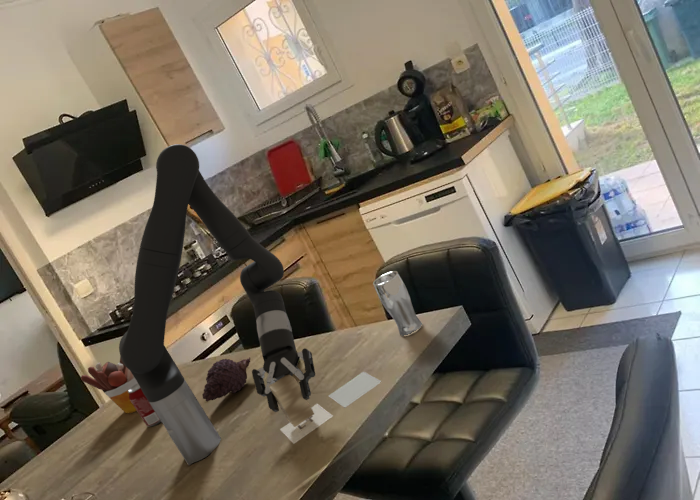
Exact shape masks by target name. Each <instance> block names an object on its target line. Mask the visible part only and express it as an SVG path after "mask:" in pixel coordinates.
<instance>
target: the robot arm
mask: <svg viewBox="0 0 700 500" xmlns="http://www.w3.org/2000/svg"><path fill="white" fill-rule="evenodd" d="M155 169H156V180H155V181H156V182H155V193H154V199H153V202H152V207H151V210H150V213H149V215H148V219H147V222H146V224H145V228H144V230H143V234H142V237H141V241H140V245H139V250H138V256H137V259H136V264H135V265H136V266H135V276H134V291H133V292H134V296H133V297H134V298H133V300H134V301H133V310H132V314H131V317H130V322H129V326H128V329H127V331H126V332H125V333H123V335H122V337H121V339H120V340H119V343H118V351H119V358H120V357H121V360H122V362H123V364H124V365H125V366H126V367H127V368H128V369H129V370H130V371H131V373H132V374H133V376H134V377H135V379H136V381H137V382H138V384H139V386H140V388H141V390H142V392H143V393H144V395H145V397H146V398H147V400H148V401H149V403H150V404H151V406H152V407H153V409H154V411H155V412H156V414H157V415H158V417H159V419H160V420H161V423H162V424H163V427H164V428H165V429H166V432H167V434H168V435H169V438H170V439H171V440H172V442H173V444H174V445H175V447H176V448H177V449H178V451H179V452H180V454H181V456H182V457H183V459H184V460H185V462H186V463H187V465H188V466H190V465H192V464H193V463H196V462H199V461H201V460H203V459H204V458H206V457H207V456H209V455H211V454H212V452H213V451H214V450H215V449H216V448H217V447H218V446H219V444H220V443H221V440H222V438H221V435H220V434H219V433H218V431H217V430H216V428H215V426H214V424H213V423H212V422H211V419H210V418H209V416H208V414H207V413H206V411H205V410H204V408H203V407H202V404H200V402H199V400H198V398H197V397H196V395H195V393H194V392H193V390H192V389H191V387H190V386H189V383H188V382H187V380H186V379H185V377H184V375H183V374H182V372H181V370H180V369H179V367H178V365H177V364H176V362H175V361H174V359H173V358H172V355H171V354H170V352H169V351H168V349H167V347H166V346H165V335H166V334H165V333H166V324H167V317H168V312H169V308H170V304H171V302H172V298H173V294H174V291H175V287H176V282H177V279H178V274H179V270H180V265H181V260H182V255H183V248H184V242H185V234H186V233H185V232H186V221H187V214H188V207H190V208H191V209H192V210H193V211H194V212H195V214H196V215H197V216H198V218H199V220H200V221H201V222H202V223H203V224H204V226H205V227H206V228H207V230H208V231H209V233H210V234H211V236H212V237H213V238H214V239H215V241H216V242H217V243H218V245H219V246H220V247H221V249H222V250H223V251H224V252H225V253H226V254H227V256H228V257H229V258H230V260H232V261H239V260H242V259H243V260H244V259H249V260H251V261H253V262H251V263H249V264H248V265H246V266H244V267H243V268H242V270H241V271H240V275H239V281H240V284H241V286H242V289H243V290H244V291H245V293H246V295H247V297H248V299H249V300H250V303H251V305H252V307H253V312H254V317H255V321H256V322H255V323H256V332H257V336H258V341H259V347H260V346H261V349H260V352H261V355H262V359H263V365H262V367H260V368H259V369H256V368H253V369H252V370H251V374H252V378H253V382H254V386H255V387H254V388H255V389H256V393H257V394H258V395H259V396H261V397H266V401H267V405H268V408H269V409H270V410H271V411H273V412H275V413H277V412H279V411H280V408H279V407H280V406H279V404H278V402H277V400H276V398H275V397H274V395H273V393H272V391H271V390H270V388H269V386H270V385H271V384H273V383H275V382H276V381H278V380H279V379H281V378H282V377H284V376H285V375H291V376H292V377H294V376H296V378H298V380H299V382H298V385H299V386H300V388H301V393H302V397H303V398H304V399H305V400H307V401H308V400H310V396H311V394H312V392H311V387H310V383H309V380H310V379H311V378H315V377H316V371H315V365H314V364H315V363H314V359H313V353H312V352H311V351H310V350H309V349H307V348H305V347H304V348H302V350H301V351H297V348H296V347H297V346H296V344H295V339H294V335H293V330H292V329H293V328H292V326H291V323H290V320H289V317H288V314H287V311H286V306H285V302H284V299H283V296H282V294H281V293H280V292H279V291H277V290H267V289H268V288H269V287H271V286H273V285H274V284H276V283H277V282H279V281H281V280H282V278H283V277H284V274H285V270H284V265H283V264H282V262H281V260H280V258H278V257H277V256H276V255H275V254H274V253H273V252H271V251H270V250H268V249H267V248H266V247H264V245H262V244H261V243H260V242H258V241H257V240H255V239H254V238H253V236H252V235H251V234H250V232H249V231H248V230H247V229H246V227H245V226H244V225H243V224H242V222H241V221H240V220H239V219H238V217H237V216H236V215H234V213H233V212H232V211H231V210H230V209H229V208H228V207H227V206H226V205H225V204H224V202H222V200H220V198H219V197H218V196H217V195H216V194H215V192H214V191H213V190H212V189H211V188H210V186H209V185H208V183H207V181H206V180H205V178H204V177H203V175H202V172H201V171H200V161H199V157H198V156H197V154H196V152H195V151H194V150H193V149H192V148H190V147H189V146H188V145H185V144H181V143H179V144H178V143H177V144H172V145H169V146H167V147H165V148H164V149H163V150H162V151H161V152H160V153H159V154H158V157H157V158H156V164H155ZM265 290H266V291H265ZM299 359H300V360H302V361H303V365H304V370H305V372H302V371H301V369H300V368H299V367H298V364H299V363H300V361H299ZM298 362H299V363H298ZM266 373H267V377H266V383H265V381H264V379H265V374H266ZM265 384H266V385H265Z"/></svg>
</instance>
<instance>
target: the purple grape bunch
mask: <svg viewBox="0 0 700 500" xmlns="http://www.w3.org/2000/svg"><path fill="white" fill-rule="evenodd" d="M250 363H251V357H248V358H246V359H242V360H239V361H237V362H236V361H233V359H230V358H229V359H227V358H225V359H224V358H222V359H219V360H218V361H215V362H214V363H213V364H212V366H211V367H210V368H209V369H208V370H207V375H206V377H205V381H206V383H205V384H204V388H203V393H202V399H203V400H205V401H206V402H207V403H208V402H209V401H214V400H217V399H220V398H223V397H226V396H227V395H228V394H230V393H232V394H235V393H237V392H239V391H240V390H242V388H244V387H245V385H246V383H247V379H248V374H247V368H249V366H250Z"/></svg>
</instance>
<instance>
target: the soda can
mask: <svg viewBox="0 0 700 500" xmlns="http://www.w3.org/2000/svg"><path fill="white" fill-rule="evenodd" d="M128 393H129V399H130V401H131V402H132V404H133V405H134V407H135V408H136V410H137V414H138V415H139V416H140V418H141V419H142V421H143V423H144V424H145V426H147V427H155V426H157V425H159V424H160V423H162V422H161V420H160V419H159V417H158V415H157V414H156V412H155V411H154V409H153V407H152V406H151V404H150V403H149V401H148V400H147V398H146V397H145V395H144V393H143V392H142V390H141V388H140V386H139V384H138V383H137V384H135V385H134V386H132V387H131V388H130V389H129V390H128Z"/></svg>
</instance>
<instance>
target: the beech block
mask: <svg viewBox="0 0 700 500" xmlns="http://www.w3.org/2000/svg"><path fill="white" fill-rule="evenodd" d="M269 388H270V390H271V391H272V393H273V395H274V397H275V398H276V400H277V403H278V407H280V409H281V411H282V413H283V415H284V417H285V418H286V420H287V421H288V423H291V424H292V425H293V426H294V427H296V426H297V425H299V424H300V423H302V422H303V421H305V420H306V419H308V418H309V417H311V416H312V415H314V412H313V410H312V407H311V405H310V403H309V401H308V400H305V399H304V398H303V397H302V393H301V388H300V384H299V382H298V381H297V380H296V378H295V377H294V376H291V375H285V376H284V377H282V378H281V379H279V380H278V381H276V382H275V383H273V384H271V385H270V386H269Z"/></svg>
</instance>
